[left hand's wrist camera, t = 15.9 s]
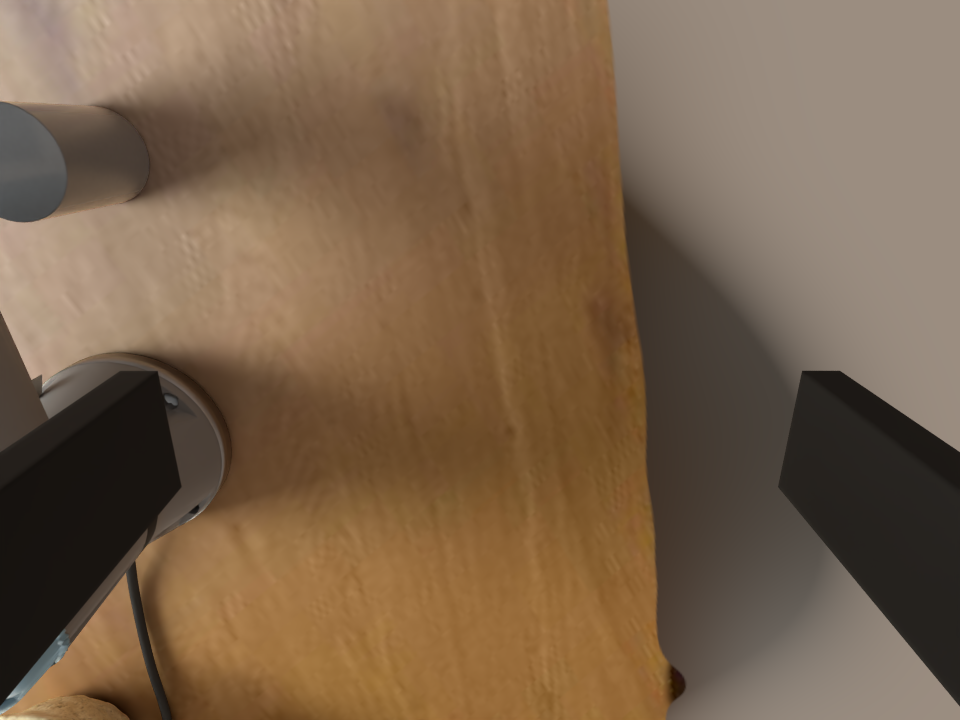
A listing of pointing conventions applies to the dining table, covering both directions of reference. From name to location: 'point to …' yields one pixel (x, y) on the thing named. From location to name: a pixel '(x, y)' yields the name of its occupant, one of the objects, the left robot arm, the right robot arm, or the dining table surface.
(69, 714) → the bowl
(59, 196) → the grey cylinder
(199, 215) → the dining table surface
